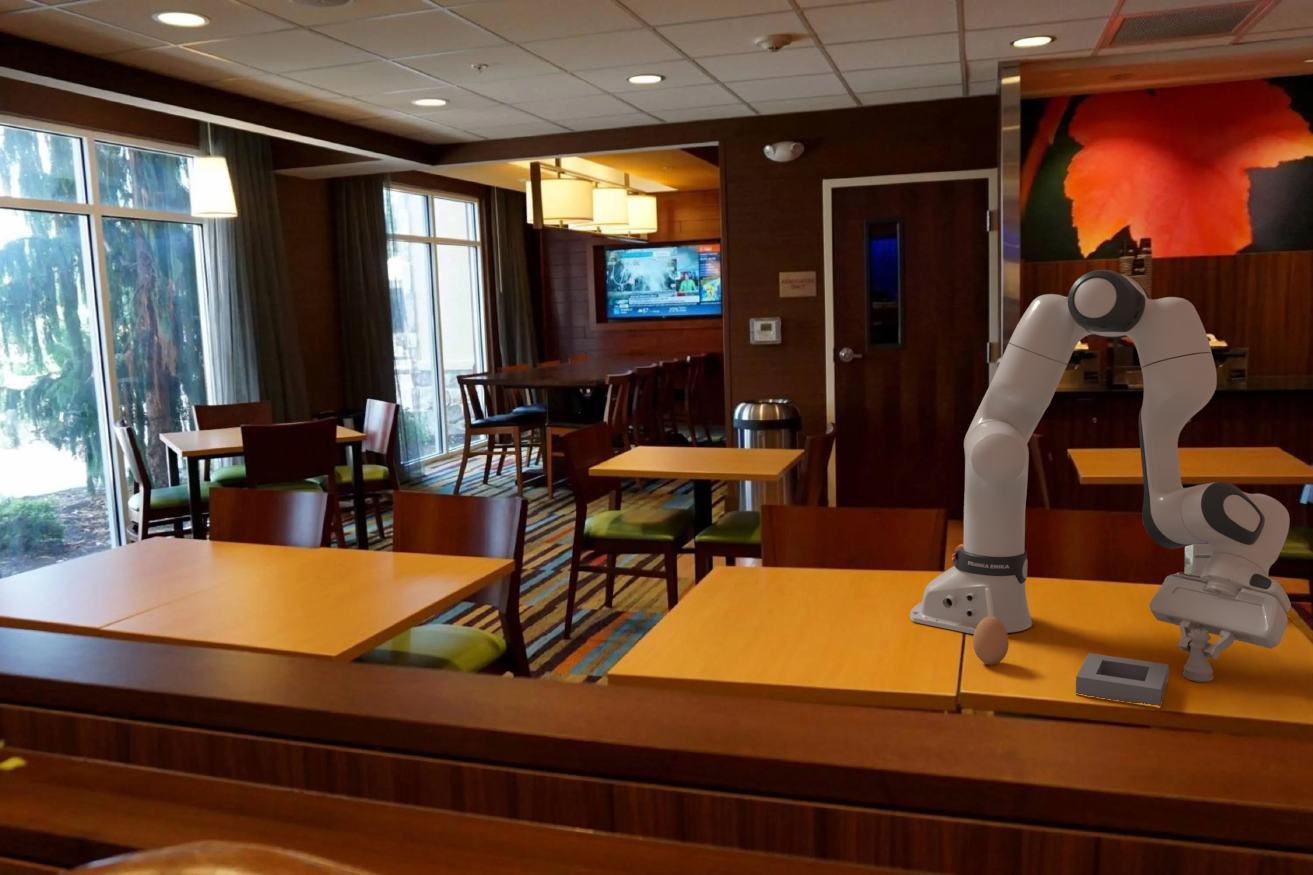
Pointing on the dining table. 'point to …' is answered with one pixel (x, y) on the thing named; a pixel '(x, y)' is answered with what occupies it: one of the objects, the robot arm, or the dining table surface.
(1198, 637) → the rook chess piece
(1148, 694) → the socket block
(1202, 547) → the syrup box
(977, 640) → the egg
